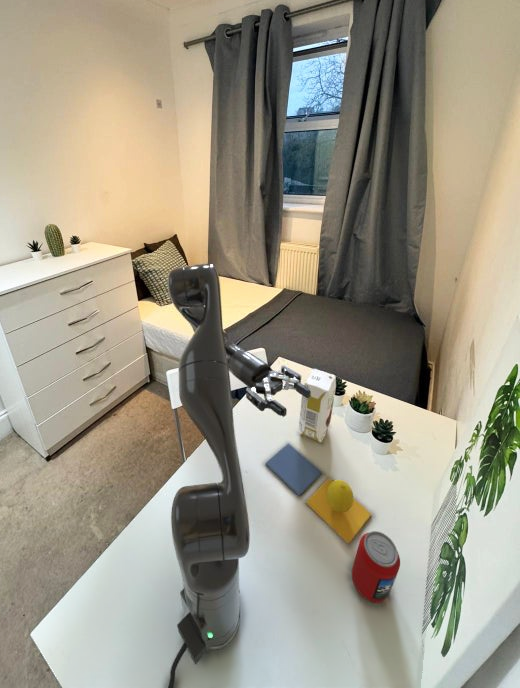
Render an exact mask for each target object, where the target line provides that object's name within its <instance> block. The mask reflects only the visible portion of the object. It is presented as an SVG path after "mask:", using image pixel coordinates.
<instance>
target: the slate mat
mask: <svg viewBox="0 0 520 688" xmlns="http://www.w3.org/2000/svg"><path fill="white" fill-rule="evenodd" d="M265 465H266V467H268V468H269V469H270V470H271V471H272V472H273V473H274V474H275V475H276V476H277V477H278V478H280V480H281V481H282V482H283V483H284V484H285V485H287V487H289V489H291V491H293V492H294V493H295V494H296V495H297V497H300V496H301V495H302V494H303V493H304V492H306V490H307V489H308V488H310V486H311V485H312V484H313V483H314V482H315V481H316V480H317V479H318V478H320V476H321V475H322V474H323V471H321V470H320V469H319V468H318V467H317V466H316V465H314V464H313V463H312V462H311V461H310V460H308V459H307V458H306V457H305V456H304V455H302V453H300V452H299V451H298V450H297V449H296V448H294V447H293V446H292V445H291V444H290V443H287V444H286V445H285V446H284V447H282V448H281V449H280V450H279V451H278V452H276V453H275V454H274V455H272V457H271V458H270V459H268V460H267V461H266V462H265Z"/></svg>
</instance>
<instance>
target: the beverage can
mask: <svg viewBox="0 0 520 688" xmlns="http://www.w3.org/2000/svg"><path fill="white" fill-rule="evenodd" d="M400 567H401V557H400V554H399V551H398V549H397V546H396V544H395V543H394V541H393V540H392V538H390V537H389V536H388V535H386V534H385V533H383V532H380V531H376V530H373V531H370V532H366V533H364V534H363V535H362V536H361V537H360V539H359V542H358V545H357V549H356V552H355V556H354V560H353V563H352V568H351V579H352V581H353V582H352V583H353V585H354V587H355V588H356V590H357V591H358V593H359V595H361V596H362V597H363V598H364V599H366V600H368V601H369V602H372V603H377V604H380V603H383V602H385V601H386V600H387V599H388V597H389V595H390V593H391V591H392V589H393V586H394V583H395V582H396V578H397V576H398V573H399V570H400Z"/></svg>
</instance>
